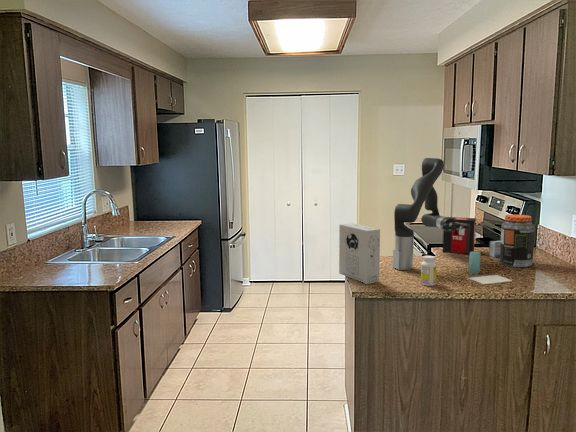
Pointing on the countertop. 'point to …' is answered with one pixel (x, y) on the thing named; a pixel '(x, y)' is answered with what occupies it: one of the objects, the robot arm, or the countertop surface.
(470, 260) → the teal wooden pin
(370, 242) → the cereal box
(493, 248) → the medicine box
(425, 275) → the supplement bottle
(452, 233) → the cleaning product box
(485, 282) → the mat
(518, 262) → the supplement tub
